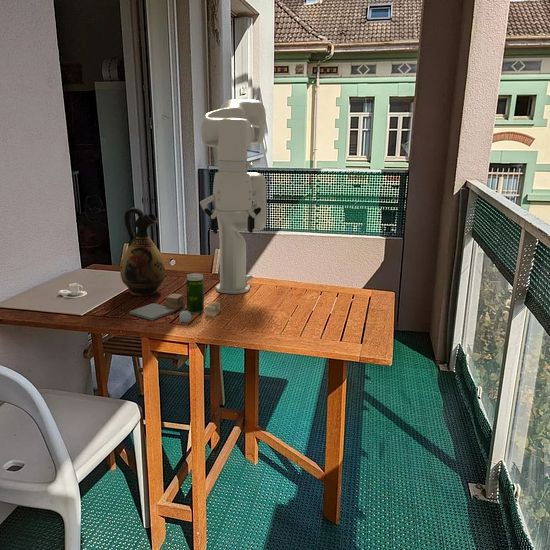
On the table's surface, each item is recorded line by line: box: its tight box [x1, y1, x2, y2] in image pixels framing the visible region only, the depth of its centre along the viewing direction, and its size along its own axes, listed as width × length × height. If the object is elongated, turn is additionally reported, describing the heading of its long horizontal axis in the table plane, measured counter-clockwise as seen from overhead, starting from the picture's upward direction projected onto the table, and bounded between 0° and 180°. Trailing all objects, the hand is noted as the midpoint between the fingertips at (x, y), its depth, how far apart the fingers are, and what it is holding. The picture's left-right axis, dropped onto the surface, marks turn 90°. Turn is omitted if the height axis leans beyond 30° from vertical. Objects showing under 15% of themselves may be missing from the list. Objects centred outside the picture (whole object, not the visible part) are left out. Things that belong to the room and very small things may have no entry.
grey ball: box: [178, 310, 192, 323], centre depth 147 cm, size 4×4×4 cm
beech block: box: [204, 301, 221, 317], centre depth 155 cm, size 5×3×3 cm, turn 167°
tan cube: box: [165, 293, 185, 311], centre depth 160 cm, size 4×4×4 cm
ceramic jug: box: [119, 206, 166, 297], centre depth 171 cm, size 17×15×30 cm
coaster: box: [128, 302, 176, 321], centre depth 154 cm, size 10×10×1 cm
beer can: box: [185, 272, 205, 315], centre depth 155 cm, size 5×5×12 cm
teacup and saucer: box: [58, 282, 88, 299], centre depth 170 cm, size 9×8×4 cm
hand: (232, 232), depth 132 cm, fingers open, 9 cm apart
